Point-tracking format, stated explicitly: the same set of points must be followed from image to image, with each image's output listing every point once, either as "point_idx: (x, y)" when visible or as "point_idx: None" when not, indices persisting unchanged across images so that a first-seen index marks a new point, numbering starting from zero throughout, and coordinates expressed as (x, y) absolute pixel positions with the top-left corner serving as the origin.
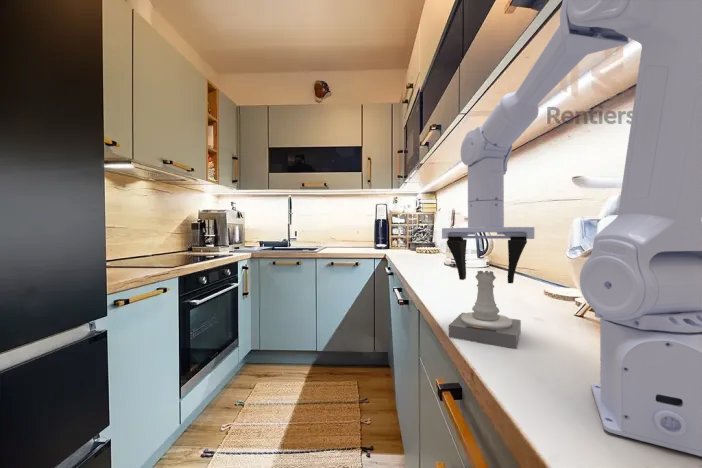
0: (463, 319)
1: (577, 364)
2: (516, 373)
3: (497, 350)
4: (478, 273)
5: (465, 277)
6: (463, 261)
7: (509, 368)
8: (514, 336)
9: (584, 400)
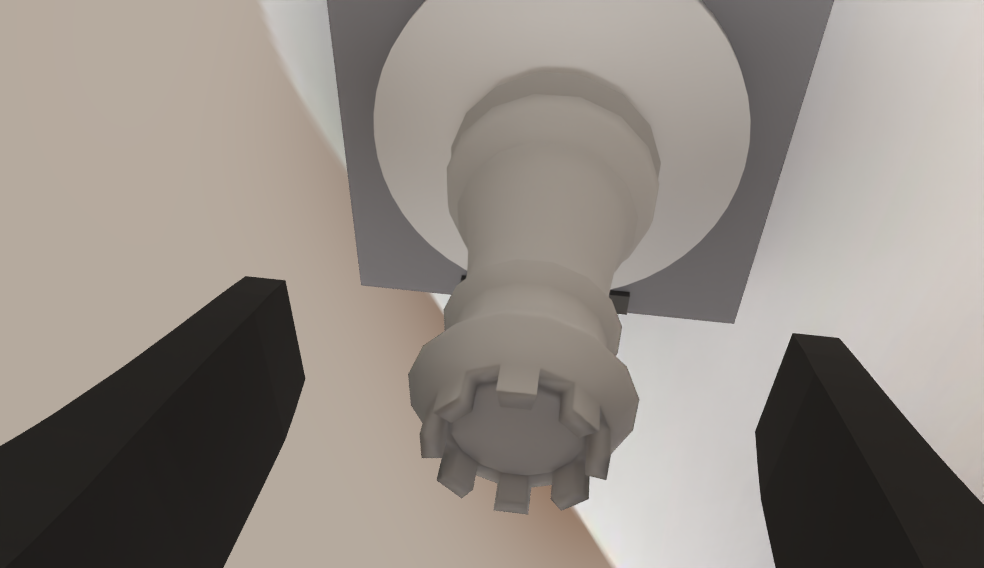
0: (417, 228)
1: (965, 354)
2: (686, 479)
3: (631, 323)
4: (444, 465)
5: (282, 305)
6: (185, 512)
7: (667, 456)
8: (723, 319)
9: None
